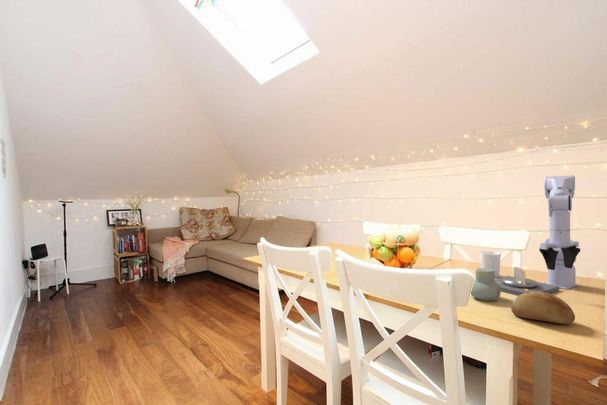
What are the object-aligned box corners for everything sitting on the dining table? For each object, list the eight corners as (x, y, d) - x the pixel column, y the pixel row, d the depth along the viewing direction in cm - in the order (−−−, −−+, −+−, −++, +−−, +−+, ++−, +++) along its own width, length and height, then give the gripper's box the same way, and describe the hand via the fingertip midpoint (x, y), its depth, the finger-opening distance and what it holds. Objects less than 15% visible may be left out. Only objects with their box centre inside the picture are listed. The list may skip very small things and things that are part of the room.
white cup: (481, 272, 150) (481, 250, 150) (501, 274, 145) (501, 252, 145) (478, 276, 144) (478, 253, 143) (499, 278, 139) (499, 255, 139)
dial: (498, 279, 132) (498, 265, 132) (530, 280, 129) (530, 266, 129) (508, 287, 121) (507, 272, 121) (542, 288, 118) (542, 273, 118)
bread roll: (575, 332, 87) (575, 302, 87) (509, 320, 96) (508, 292, 96) (574, 320, 95) (574, 292, 94) (512, 310, 104) (512, 284, 103)
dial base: (509, 279, 137) (509, 275, 137) (559, 290, 122) (559, 285, 122) (482, 286, 129) (481, 282, 129) (532, 299, 113) (532, 294, 113)
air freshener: (495, 305, 108) (495, 274, 108) (467, 300, 114) (467, 271, 113) (501, 296, 117) (501, 268, 116) (476, 292, 122) (475, 265, 122)
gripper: (553, 232, 110) (554, 272, 110) (588, 230, 113) (588, 269, 114) (534, 229, 117) (534, 268, 117) (567, 227, 120) (567, 265, 121)
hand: (559, 268), depth 116 cm, fingers open, 7 cm apart
